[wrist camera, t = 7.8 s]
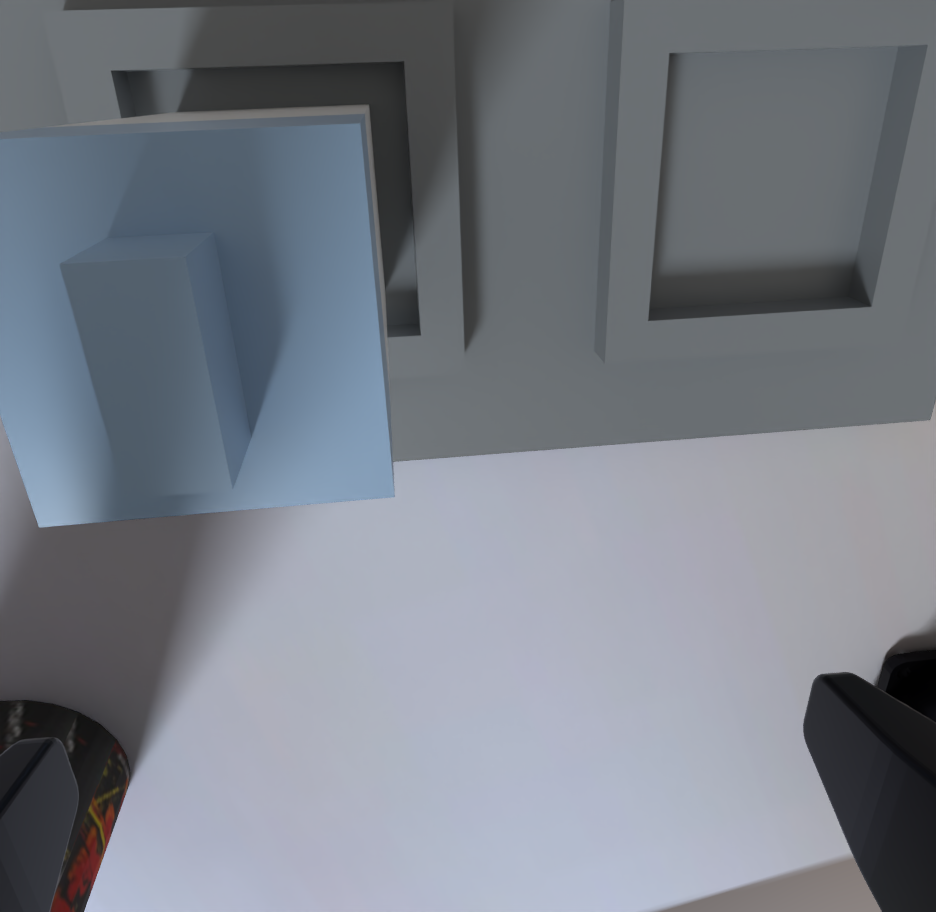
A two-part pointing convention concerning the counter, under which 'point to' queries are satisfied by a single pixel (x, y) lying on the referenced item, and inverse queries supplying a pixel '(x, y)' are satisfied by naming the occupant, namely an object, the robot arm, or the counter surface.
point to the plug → (194, 313)
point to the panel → (583, 194)
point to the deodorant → (98, 786)
